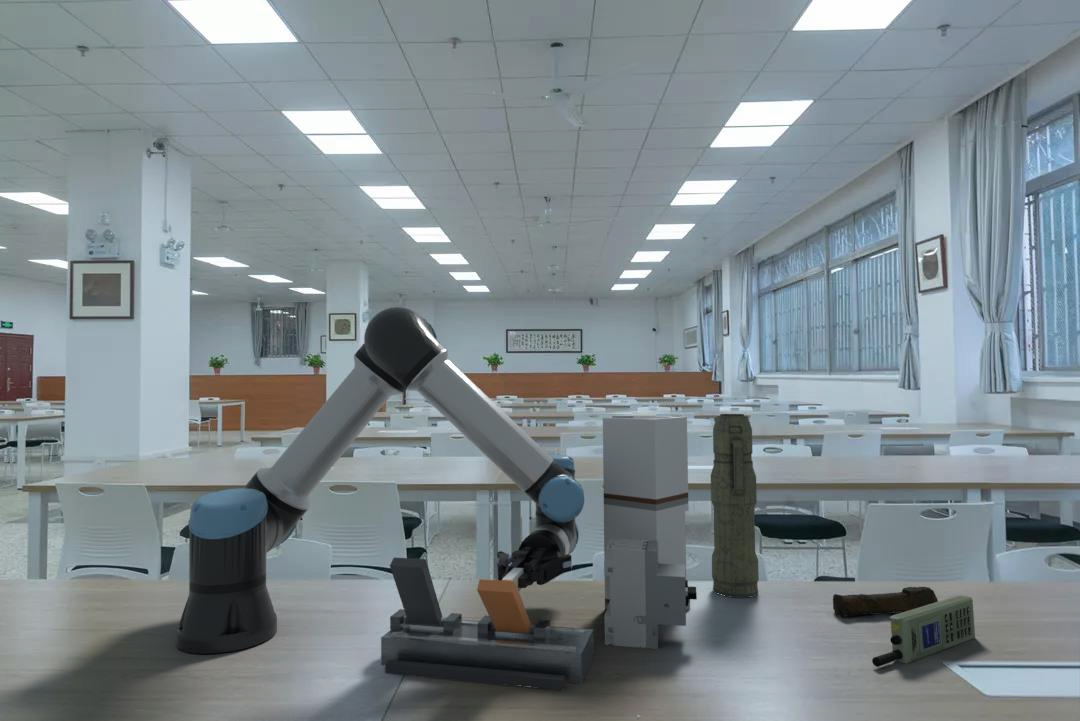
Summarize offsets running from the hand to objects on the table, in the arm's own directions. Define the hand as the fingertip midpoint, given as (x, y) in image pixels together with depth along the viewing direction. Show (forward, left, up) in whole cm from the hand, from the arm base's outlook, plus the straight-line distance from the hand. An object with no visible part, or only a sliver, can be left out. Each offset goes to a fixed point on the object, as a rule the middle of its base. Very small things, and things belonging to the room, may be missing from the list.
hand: (506, 589), depth 99 cm
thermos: (+33, +48, -12) cm, 60 cm away
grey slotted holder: (-4, +4, -12) cm, 13 cm away
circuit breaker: (+19, +18, -12) cm, 29 cm away
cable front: (-4, -3, -12) cm, 13 cm away
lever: (0, +4, -7) cm, 8 cm away
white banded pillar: (+17, +34, -12) cm, 40 cm away
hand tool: (+58, +41, -12) cm, 72 cm away
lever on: (-14, +4, -7) cm, 16 cm away
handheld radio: (+60, +22, -12) cm, 65 cm away
